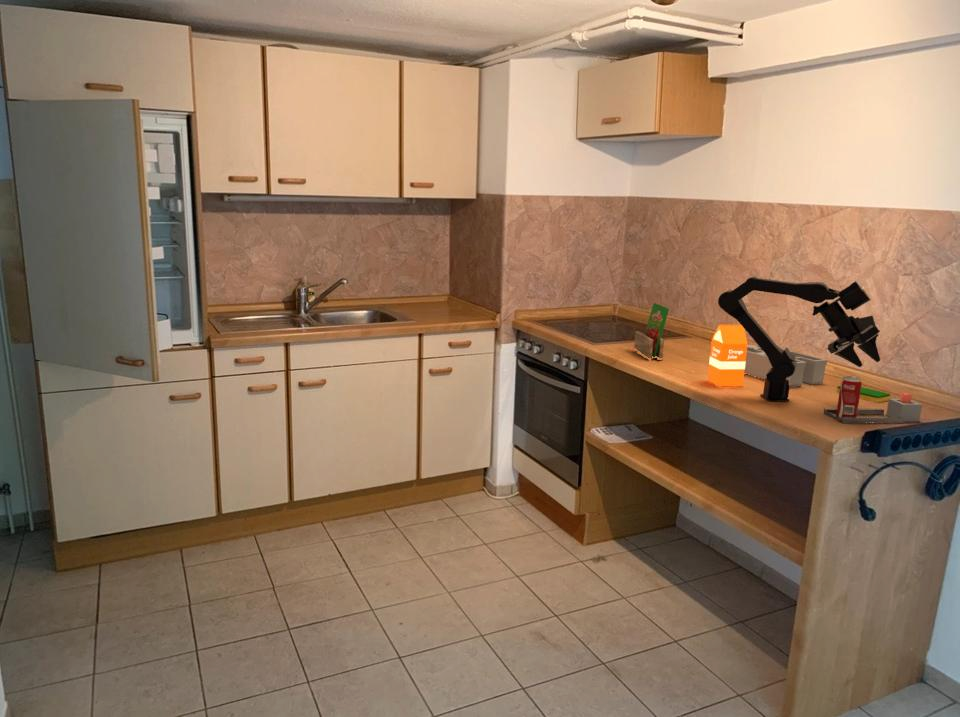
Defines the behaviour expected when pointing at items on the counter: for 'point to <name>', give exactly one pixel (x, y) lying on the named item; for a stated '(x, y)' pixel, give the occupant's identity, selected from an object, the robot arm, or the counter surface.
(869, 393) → the dish sponge
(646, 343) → the packet holder
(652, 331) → the tomato puree packet
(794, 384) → the grey compartment organizer
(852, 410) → the soda can
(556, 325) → the counter surface
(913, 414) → the grey push button box
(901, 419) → the grey shallow tray
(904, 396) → the plunger
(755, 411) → the counter surface
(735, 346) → the orange juice
